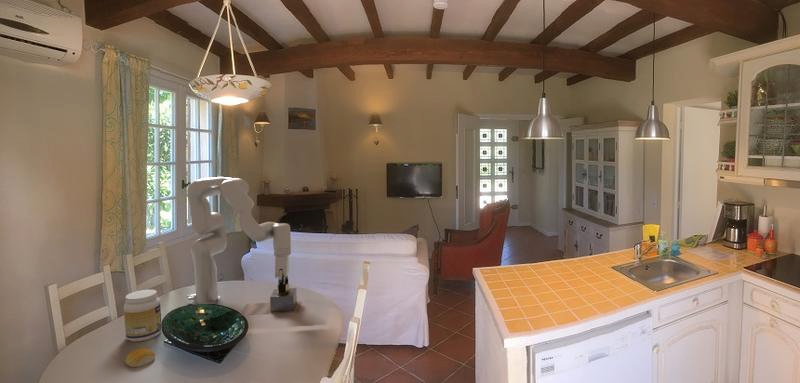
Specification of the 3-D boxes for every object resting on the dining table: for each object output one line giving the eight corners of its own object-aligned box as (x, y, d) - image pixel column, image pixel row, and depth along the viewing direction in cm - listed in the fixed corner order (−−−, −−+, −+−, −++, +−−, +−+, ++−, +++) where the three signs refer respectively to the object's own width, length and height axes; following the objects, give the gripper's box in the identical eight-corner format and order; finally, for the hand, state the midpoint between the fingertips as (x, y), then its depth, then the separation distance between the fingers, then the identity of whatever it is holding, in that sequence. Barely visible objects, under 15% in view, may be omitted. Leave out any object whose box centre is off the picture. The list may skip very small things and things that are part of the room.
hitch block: (270, 312, 174) (270, 297, 173) (274, 303, 184) (274, 289, 183) (293, 311, 175) (293, 296, 174) (296, 302, 185) (296, 288, 184)
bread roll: (146, 352, 143) (145, 342, 142) (159, 359, 138) (158, 349, 138) (120, 363, 136) (119, 352, 135) (133, 370, 131) (132, 359, 131)
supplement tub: (164, 336, 155) (161, 294, 153) (126, 346, 147) (123, 302, 145) (160, 325, 164) (157, 286, 162) (124, 333, 157) (121, 292, 155)
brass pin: (277, 307, 176) (276, 287, 175) (279, 303, 182) (278, 283, 181) (288, 307, 177) (288, 286, 176) (290, 302, 182) (290, 282, 181)
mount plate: (239, 318, 171) (238, 315, 171) (246, 306, 184) (246, 303, 184) (298, 315, 174) (298, 312, 174) (301, 304, 187) (301, 301, 187)
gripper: (277, 246, 185) (278, 283, 187) (269, 256, 168) (271, 297, 170) (293, 246, 186) (294, 283, 188) (287, 256, 169) (289, 296, 171)
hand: (283, 289), depth 179 cm, fingers open, 6 cm apart
